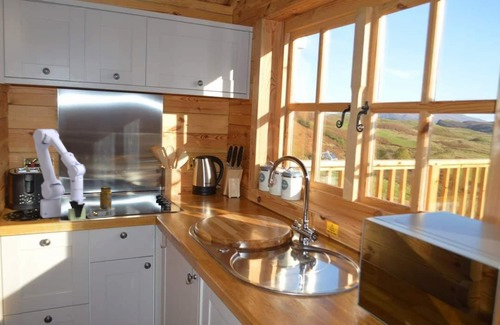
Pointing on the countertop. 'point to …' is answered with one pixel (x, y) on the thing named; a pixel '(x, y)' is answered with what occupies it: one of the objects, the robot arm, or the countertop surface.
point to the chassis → (99, 213)
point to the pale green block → (72, 216)
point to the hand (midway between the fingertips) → (76, 216)
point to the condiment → (105, 198)
